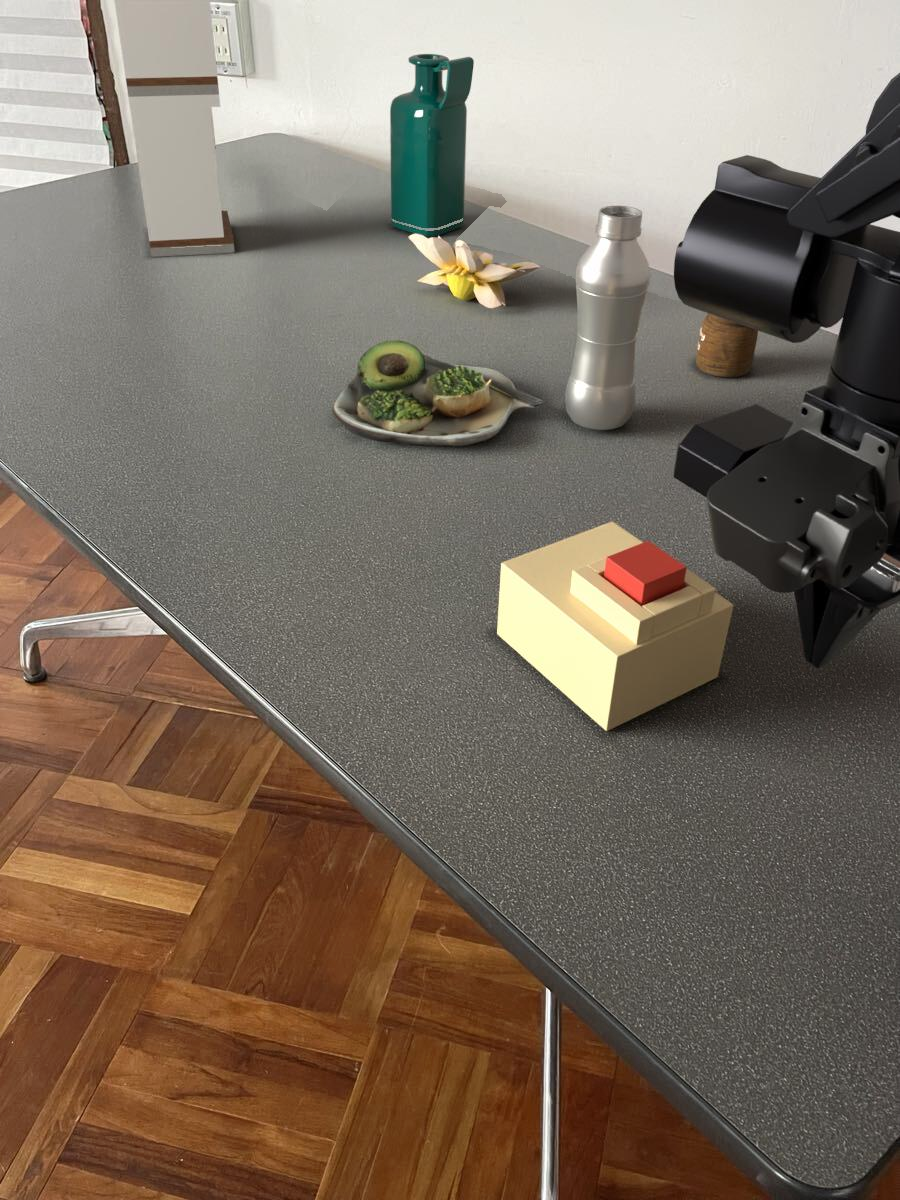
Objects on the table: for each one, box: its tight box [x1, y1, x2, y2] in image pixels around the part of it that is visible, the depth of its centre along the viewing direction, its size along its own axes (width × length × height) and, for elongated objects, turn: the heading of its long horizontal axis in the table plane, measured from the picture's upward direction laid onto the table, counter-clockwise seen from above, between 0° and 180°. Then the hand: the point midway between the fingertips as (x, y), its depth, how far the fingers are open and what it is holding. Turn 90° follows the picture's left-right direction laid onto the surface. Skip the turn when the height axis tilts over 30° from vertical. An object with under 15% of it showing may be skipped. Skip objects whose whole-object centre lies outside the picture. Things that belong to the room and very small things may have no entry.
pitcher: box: [389, 53, 475, 238], centre depth 145 cm, size 10×8×22 cm
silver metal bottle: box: [564, 205, 651, 431], centre depth 98 cm, size 6×7×20 cm
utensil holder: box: [695, 313, 759, 378], centre depth 111 cm, size 6×6×12 cm
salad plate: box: [331, 339, 544, 447], centre depth 104 cm, size 19×18×5 cm
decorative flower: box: [408, 233, 541, 309], centre depth 127 cm, size 15×11×10 cm
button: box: [604, 540, 688, 606], centre depth 68 cm, size 4×4×2 cm
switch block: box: [496, 521, 734, 732], centre depth 73 cm, size 12×10×8 cm
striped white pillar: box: [113, 0, 236, 258], centre depth 134 cm, size 11×11×35 cm
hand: (817, 662), depth 54 cm, fingers closed
